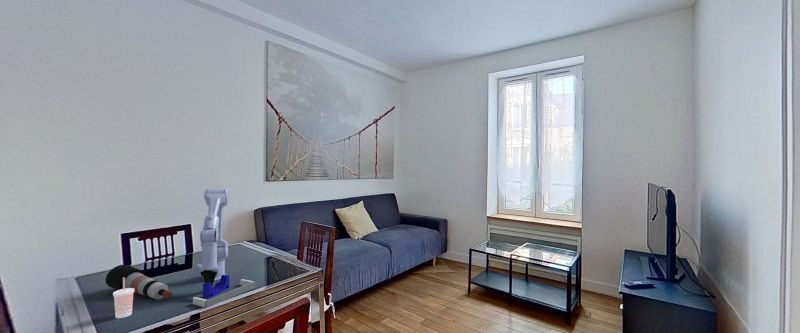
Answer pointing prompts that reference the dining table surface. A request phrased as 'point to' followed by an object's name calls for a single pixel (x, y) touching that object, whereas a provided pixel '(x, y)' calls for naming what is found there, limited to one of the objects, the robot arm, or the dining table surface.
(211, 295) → the cable clip
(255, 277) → the dining table surface
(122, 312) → the beverage cup
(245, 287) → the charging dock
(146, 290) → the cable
